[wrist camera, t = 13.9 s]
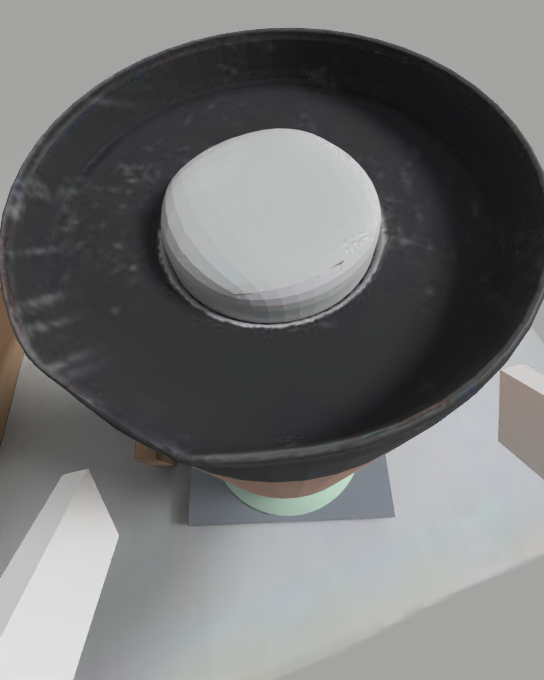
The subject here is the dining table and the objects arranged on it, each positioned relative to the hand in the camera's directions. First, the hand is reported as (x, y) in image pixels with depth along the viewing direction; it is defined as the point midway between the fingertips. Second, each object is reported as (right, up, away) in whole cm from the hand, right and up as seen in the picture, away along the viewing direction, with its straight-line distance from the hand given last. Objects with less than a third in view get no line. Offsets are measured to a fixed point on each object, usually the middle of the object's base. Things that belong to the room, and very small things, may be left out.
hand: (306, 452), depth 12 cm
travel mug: (0, -3, +12) cm, 12 cm away
